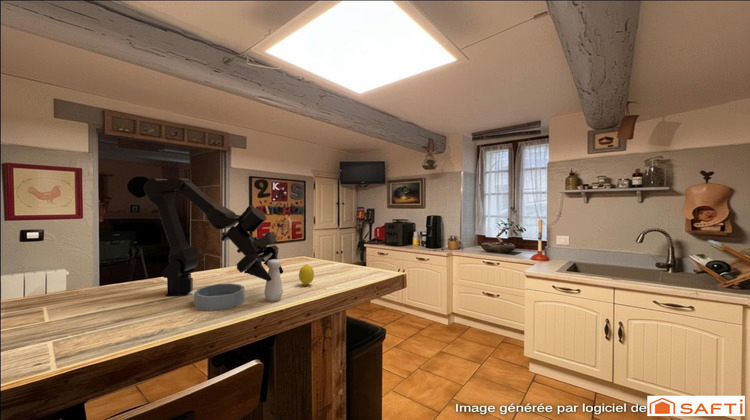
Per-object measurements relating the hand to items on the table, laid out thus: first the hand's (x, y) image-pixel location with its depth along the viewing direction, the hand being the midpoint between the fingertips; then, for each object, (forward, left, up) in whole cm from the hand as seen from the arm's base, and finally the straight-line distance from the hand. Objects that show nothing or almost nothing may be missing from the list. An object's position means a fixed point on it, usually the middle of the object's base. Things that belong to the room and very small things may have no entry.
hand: (276, 276), depth 102 cm
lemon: (+10, +14, -8) cm, 19 cm away
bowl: (-17, 0, -8) cm, 19 cm away
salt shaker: (-1, 0, -8) cm, 8 cm away
